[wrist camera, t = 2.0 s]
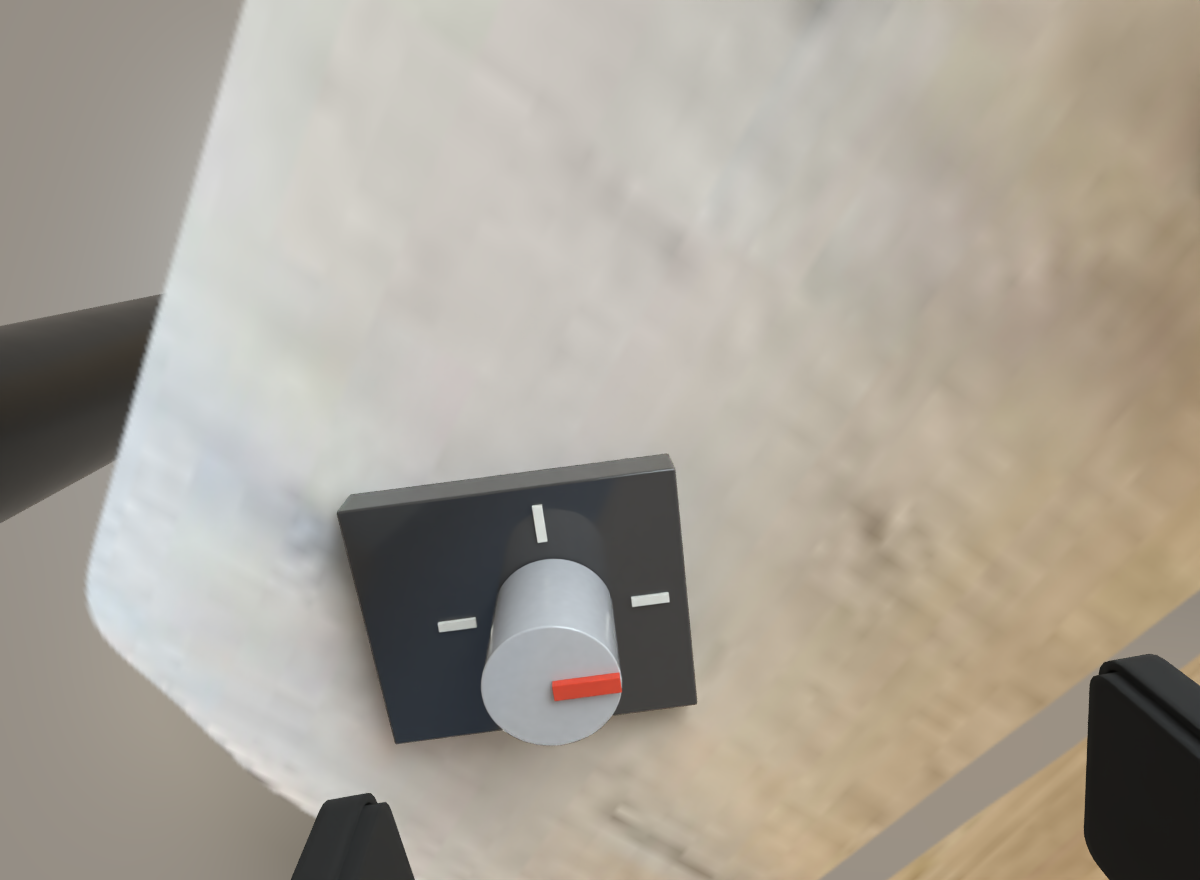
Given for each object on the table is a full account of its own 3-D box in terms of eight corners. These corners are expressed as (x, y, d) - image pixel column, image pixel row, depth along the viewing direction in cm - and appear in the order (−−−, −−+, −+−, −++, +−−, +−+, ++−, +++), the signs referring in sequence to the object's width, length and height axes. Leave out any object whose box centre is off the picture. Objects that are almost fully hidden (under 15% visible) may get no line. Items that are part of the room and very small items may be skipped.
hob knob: (504, 669, 27) (492, 761, 23) (485, 566, 26) (467, 642, 21) (619, 654, 27) (630, 743, 23) (605, 550, 26) (614, 623, 21)
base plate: (410, 696, 31) (393, 748, 28) (358, 481, 28) (334, 514, 25) (685, 659, 31) (698, 707, 28) (664, 442, 28) (676, 469, 25)
